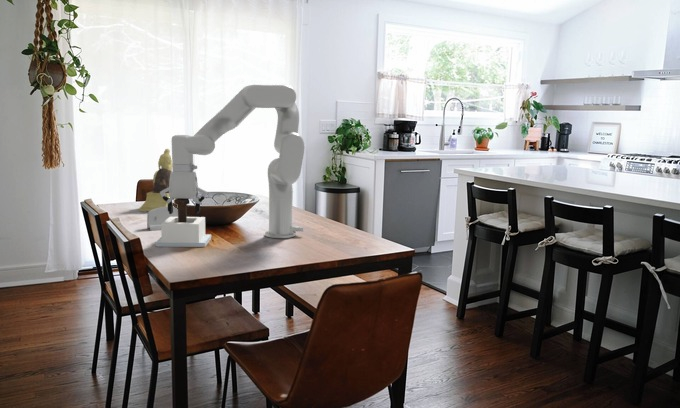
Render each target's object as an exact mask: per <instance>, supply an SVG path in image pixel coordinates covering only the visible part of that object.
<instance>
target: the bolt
mask: <svg viewBox="0 0 680 408" xmlns="http://www.w3.org/2000/svg"><path fill="white" fill-rule="evenodd" d="M174 203H175V204H177V208H178V222H179V223H187V217H188V216H187V215H188V214H187V207H188V206H187V205H188V204H190V199H175V200H174Z"/></svg>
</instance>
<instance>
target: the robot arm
mask: <svg viewBox="0 0 680 408" xmlns="http://www.w3.org/2000/svg"><path fill="white" fill-rule="evenodd" d="M296 100H297V92H296V90H295V89H294V88H293V87H292V86H291V85H287V84H270V85H269V84H249V85H246V86H244V87H243V88H242V89H241V90H240V91H239V92H238V93H237V94H235V95H234V96H233V98H231V99H230V101H229V102H228V103H227V104H226V105H225V106H224V107H223V108H222V109H220V111H218V112H217V113H216V114H215V115H214V116H213V117H211V119H209V120H208V121H207V122H206V123H205V124H204V125H202V127H201V128H200V129H199V130H198V131H197V132H196V133H195V134H194V135H192V136H191V135H187V134H177V135H173V136H172V137H171V160H172V172H171V174H170V182H169V187H168V188H166V189H164V190H162V191H160V194H161V196H162V198H163V199H164V200H165V201H166V203H167V204H168V211H169V214H172V213H173V203H172V200H173V199H189V200H192V199H193V201H194V202H195V204H194V207H195V208H194V211H195V215H198V214H199V213H200V212H201V202H203V201H204V200H205V199H206V196H207V194H208V191H206V190H205V189H203V188H201V187H199V184H198V177H197V173H196V171H194V170H198V165H195V164H194V155H199V156H207V155H211V154H212V153H214V150H215V148H216V144H215V143H216V142H217V140H218V139H220V138H221V137H222V136H223V135H225V134H226V133H229V131H231V130H234V129H235V128H237V127H238V126H239V125H241V123H243V121H244V120H245V119H246V118H248V116H250V114H251V113H252V112H253V111H254V110H256V109H275V110H276V111H275V112H276V114H277V124H276V130H275V137H274V142H273V146H274V150H275V151H276V152H277V153H278V154H279V156H278V157H277V158H274V159H273V160H272V161H270V163H269V165H268V167H267V180H268V230H266V231H265V233H264V236H265V237H266V238H267V237H268V238H270V239H291V238H294V237H296V235H297V233H296V232H299V233H300V232H301V233H302V232H304V227H303V226H297V225H296V226H295V225H294V222H293V201H294V200H293V199H294V198H293V194H294V193H293V192H294V191H293V189H294V188H293V184H295V183H296V182H297V181H298V180H299V178H300V176H301V172H302V166H303V159H304V154H305V142H304V139H303V137H302V136H301V135H300V134H299V126H300V125H299V124H300V111H299V108H298V105H297V103H296ZM168 191H169V196H170V198H168V197H167V196H166V195H165V193H166V192H168ZM199 194H202V195H201V197H200V198H199V197H198V196H199Z"/></svg>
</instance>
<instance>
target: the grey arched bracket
mask: <svg viewBox="0 0 680 408" xmlns="http://www.w3.org/2000/svg"><path fill="white" fill-rule="evenodd" d="M146 216H147V217H146V219H147V220H146V223H147V224H146V229H147V230H149V231H150V232H151V231H161V223H163V222H164V221H165V220H166V219H168V218H169V217H178V209H177V208H175V207H173V213H172V214H169V211H168V207H160V208H156V209H153V210H151V211H149V212H147V215H146Z"/></svg>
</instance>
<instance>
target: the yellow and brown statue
mask: <svg viewBox="0 0 680 408" xmlns="http://www.w3.org/2000/svg"><path fill="white" fill-rule="evenodd" d="M170 151H171V150H170V149H169V148H165V149H164V151H163V153H162V154H161V155H160V156H159V159H158V163H157V165H158V166H157V167H158V170H156V171H155V173H154V174H153V179H152V190H151V191H149V192H146V199H145V201H144V203H142V205H141V206H140V207H139V212H142V211H151V210H153V209H156V208H160V207H168V204H167V203H166V201H165V200H164V199H163V198H162V196H161V194H160V191H162V190H164V189H166V188H168V187H169V182H170V174H171V172H172V155H171V154H170ZM165 195H166V196H167V197H168V198H169V197H170V196H169V191H168V192H166V193H165Z"/></svg>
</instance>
